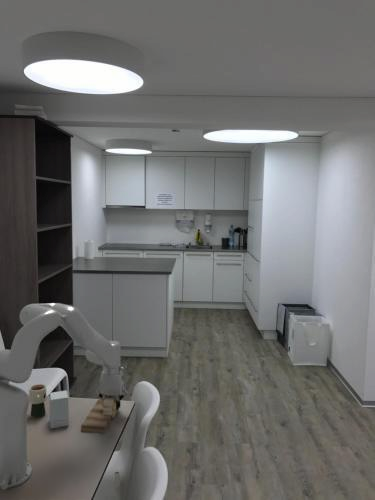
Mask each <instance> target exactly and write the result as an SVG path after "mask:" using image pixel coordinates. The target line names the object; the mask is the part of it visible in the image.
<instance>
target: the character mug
mask: <svg viewBox="0 0 375 500" xmlns="http://www.w3.org/2000/svg"><path fill="white" fill-rule="evenodd" d="M28 397H29V404H31V407H30V408H31V409H30V417H32V418H40V417H43V416H46V415H45V414H46V406H45V402H46V401H47V385H46V384H44V383H43V384H42V383H37V384H33V385H31V386H29V388H28Z"/></svg>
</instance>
